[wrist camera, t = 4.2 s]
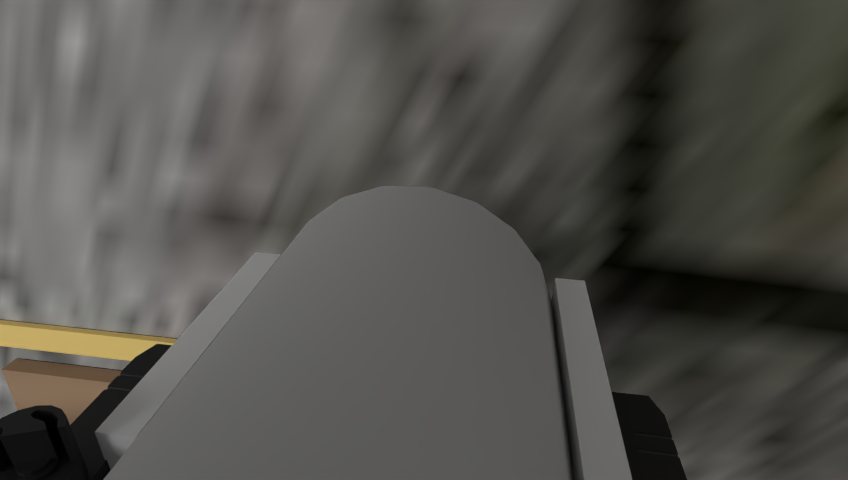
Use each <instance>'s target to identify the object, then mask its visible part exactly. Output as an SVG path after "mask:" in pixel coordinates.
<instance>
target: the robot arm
mask: <svg viewBox="0 0 848 480" xmlns="http://www.w3.org/2000/svg"><path fill="white" fill-rule="evenodd" d="M280 256H281V254H270V253H259V252H255V253H254V254H253V255H252V256H251V257H250V258H249V260H248V261H247V262H246V263H245V264H244V265H243V266H242V267H241V268H240V270H239V271H238V272H237V273H236V274H235V275H234V276H233V277H232V279H231V280H230V281H229V282H228V283H227V284H226V285H225V286H224V288H223V289H222V290H221V291H220V292H219V293H218V294H217V295H216V296H215V298H214V299H213V300H212V301H211V302H210V303H209V304H208V305H207V307H206V308H205V309H204V310H203V311H202V312H201V313H200V314H199V316H198V317H197V318H196V319H195V320H194V321H193V322H192V323H191V324H190V326H189V327H188V328H187V329H186V330H185V331H184V332H183V333H182V335H181V336H180V337H179V338H178V339H177V340H176V341H175V342H174V344H173V345H165V344H156V345H154V346H153V347H151V348H149V349H148V350H146V351H144V352H143V353H141V354H139V355H138V356H136V357H135V358H134V359H133V360H132V361H131V362H130V363H129V364H128V365H127V366H126V367H125V368H124V369H123V371H122V372H121V373H120V376H117V377H116V378H115V379H114V380H113V381H112V382H111V383H110V384H109V385H108V388H107V390H105V389H104V390H103V391H102V392H101V393H100V394H99V396H98V397H97V398H96V399H95V400H94V401H93V402H92V403H91V404H90V405H89V406H88V407H87V408H86V409H85V410H84V411H83V412H82V413H81V414H80V415H79V416H78V417H77V418H76V419H75V421H74V422H73V423H72V424H71V425H70V424H69V421H68V419H67V416H66V415H65V413H64V412H63V410H62V409H60V408H58V407H55V406H52V405H38V406H33V407H29V408H25V409H21V410H18V411H16V412H14V413H11V414H9V415H7V416H5V417H3V418H1V419H0V480H103V479H104V478H105V477H106V475H107V474H108V473H109V472H110V470H111V469H112V468H113V467H114V465H115V464H116V463H117V462H118V460H119V459H120V458H121V457H122V455H123V454H124V453H125V452H126V450H127V449H128V448H129V447H130V445H131V444H132V443H133V441H134V440H135V439H136V438H137V436H138V435H139V434H140V433H141V431H142V430H143V429H144V428H145V426H146V425H147V424H148V423H149V421H150V420H151V419H152V418H153V416H154V415H155V414H156V412H157V411H158V410H159V409H160V407H161V406H162V405H163V404H164V402H165V401H166V400H167V399H168V397H169V396H170V395H171V394H172V392H173V391H174V390H175V389H176V387H177V386H178V385H179V383H180V382H181V381H182V380H183V378H184V377H185V376H186V375H187V373H188V372H189V371H190V370H191V368H192V367H193V366H194V365H195V363H196V362H197V361H198V360H199V358H200V357H201V356H202V354H203V353H204V352H205V351H206V349H207V348H208V347H209V346H210V344H211V343H212V342H213V341H214V339H215V338H216V337H217V336H218V334H219V333H220V332H221V331H222V329H223V328H224V327H225V325H226V324H227V323H228V322H229V320H230V319H231V318H232V317H233V315H234V314H235V313H236V312H237V310H238V309H239V308H240V307H241V305H242V304H243V303H244V302H245V300H246V299H247V298H248V296H249V295H250V294H251V293H252V291H253V290H254V289H255V288H256V286H257V285H258V284H259V283H260V281H261V280H262V279H263V278H264V276H265V275H266V274H267V273H268V271H269V270H270V269H271V267H272V266H273V265H274V264H275V262H276V261H277V260H278V259H279V257H280ZM551 304H552V312H553V320H554V327H555V335H556V343H557V351H558V359H559V367H560V375H561V383H562V391H563V399H564V407H565V415H566V423H567V431H568V439H569V447H570V455H571V463H572V471H573V478H574V480H687V479H686V476H685V473H684V470H683V467H682V464H681V461H680V458H678V453H677V450H676V447H675V444H674V441H673V440H672V435H671V432H670V429H669V427H668V424H667V421H666V418H665V415H664V414H663V413H662V412H661V410H660V409H659V408H658V407H657V406H656V405H655V403H654V402H653V401H652V400H651V399H650V398H649V396H643V395H634V394H625V393H616V392H611V388H610V384H609V380H608V376H607V372H606V367H605V363H604V359H603V355H602V351H601V347H600V342H599V338H598V334H597V330H596V326H595V321H594V317H593V313H592V309H591V305H590V301H589V296H588V292H587V288H586V284H585V281H583V280H572V279H560V278H555V282H554V288H553V295H552V302H551Z"/></svg>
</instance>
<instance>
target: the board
mask: <svg viewBox="0 0 848 480" xmlns="http://www.w3.org/2000/svg"><path fill="white" fill-rule="evenodd" d="M2 371H3V374H4V376H5V379H6V381H7V384H8V386H9V389H10V391H11V394H12V396H13V399H14V401H15V404H16V406H17V409H18V410H21V409H25V408H29V407H33V406H38V405H52V406H55V407H58V408H60V409H62V410H63V412H64V413H65V415H66V416H67V419H68V421H69V424H70V425H71V424H72V423H73V422H74V421H75V419H76V418H77V417H78V416H79V415H80V414H81V413H82V412H83V411H84V410H85V409H86V408H87V407H88V406H89V405H90V404H91V403H92V402H93V401H94V400H95V399H96V398H97V397H98V396H99V394H100V393H101V392H102V391H103V390H104V389H105V390H107V388H108V385H109V384H110V383H111V382H112V381H113V380H114V379H115V378H116V377H117V376H120V373H121V372H122V371H119V370H111V369H102V368H94V367H85V366H77V365H68V364H60V363H51V362H43V361H34V360H26V359H15V360H14V361H13V362H11V363H10V364H9V365H7V366H6V367H5V368H3V369H2Z"/></svg>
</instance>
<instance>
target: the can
mask: <svg viewBox="0 0 848 480" xmlns="http://www.w3.org/2000/svg"><path fill="white" fill-rule="evenodd" d="M103 480H574V478H573V471H572V463H571V455H570V447H569V439H568V431H567V423H566V415H565V407H564V399H563V391H562V383H561V375H560V367H559V359H558V351H557V343H556V335H555V327H554V320H553V312H552V304H551V299H550V296H549V292H548V289H547V286H546V282H545V279H544V275H543V272H542V268H541V265H540V263H539V262H538V260H537V259H536V258H535V256H534V255H533V254H532V252H531V251H530V250H529V248H528V247H527V245H526V244H525V243H524V241H523V240H522V239H521V237H520V236H519V235H518V233H517V232H516V231H515V229H513V228H512V227H511V226H509V225H508V224H506V223H505V222H504V221H502V220H501V219H499V218H498V217H497V216H495V215H494V214H492V213H491V212H490V211H488V210H487V209H485V208H484V207H483V206H481V205H480V204H478V203H477V202H474V201H471V200H468V199H465V198H462V197H459V196H456V195H453V194H450V193H447V192H444V191H441V190H438V189H435V188H432V187H415V186H380V187H377V188H373V189H370V190H367V191H363V192H360V193H356V194H353V195H349V196H346V197H342V198H340V199H339V200H337V201H336V202H334V203H333V204H332V205H330V206H329V207H327V208H326V209H325V210H323V211H322V212H320V213H319V214H318V215H316V216H315V217H313V218H312V219H311V220H309V221H308V222H307V223H306V225H305V226H304V227H303V228H302V230H301V231H300V232H299V233H298V235H297V236H296V237H295V238H294V240H293V241H292V242H291V244H290V245H289V246H288V247H287V249H286V250H285V251H284V252H283V254H282V255H281V256H280V257H279V259H278V260H277V261H276V262H275V264H274V265H273V266H272V267H271V269H270V270H269V271H268V273H267V274H266V275H265V276H264V278H263V279H262V280H261V281H260V283H259V284H258V285H257V286H256V288H255V289H254V290H253V291H252V293H251V294H250V295H249V296H248V298H247V299H246V300H245V302H244V303H243V304H242V305H241V307H240V308H239V309H238V310H237V312H236V313H235V314H234V315H233V317H232V318H231V319H230V320H229V322H228V323H227V324H226V325H225V327H224V328H223V329H222V331H221V332H220V333H219V334H218V336H217V337H216V338H215V339H214V341H213V342H212V343H211V344H210V346H209V347H208V348H207V349H206V351H205V352H204V353H203V354H202V356H201V357H200V358H199V360H198V361H197V362H196V363H195V365H194V366H193V367H192V368H191V370H190V371H189V372H188V373H187V375H186V376H185V377H184V378H183V380H182V381H181V382H180V383H179V385H178V386H177V387H176V389H175V390H174V391H173V392H172V394H171V395H170V396H169V397H168V399H167V400H166V401H165V402H164V404H163V405H162V406H161V407H160V409H159V410H158V411H157V412H156V414H155V415H154V416H153V418H152V419H151V420H150V421H149V423H148V424H147V425H146V426H145V428H144V429H143V430H142V431H141V433H140V434H139V435H138V436H137V438H136V439H135V440H134V441H133V443H132V444H131V445H130V447H129V448H128V449H127V450H126V452H125V453H124V454H123V455H122V457H121V458H120V459H119V460H118V462H117V463H116V464H115V465H114V467H113V468H112V469H111V470H110V472H109V473H108V474H107V475H106V477H105V478H104V479H103Z"/></svg>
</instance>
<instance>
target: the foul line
mask: <svg viewBox="0 0 848 480" xmlns="http://www.w3.org/2000/svg"><path fill="white" fill-rule="evenodd" d="M176 340H177V339H173V338H164V337H154V336H145V335H136V334H127V333H118V332H108V331H99V330H90V329H81V328H71V327H62V326H53V325H44V324H34V323H25V322H16V321H7V320H0V346H6V347H15V348H24V349H33V350H41V351H50V352H59V353H67V354H76V355H85V356H94V357H102V358H111V359H120V360H128V361H132V360H133V359H134V358H135V357H136V356H138V355H139V354H141V353H143V352H144V351H146V350H148V349H149V348H151V347H153V346H154V345H156V344H165V345H173V344H174V342H175V341H176Z"/></svg>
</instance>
